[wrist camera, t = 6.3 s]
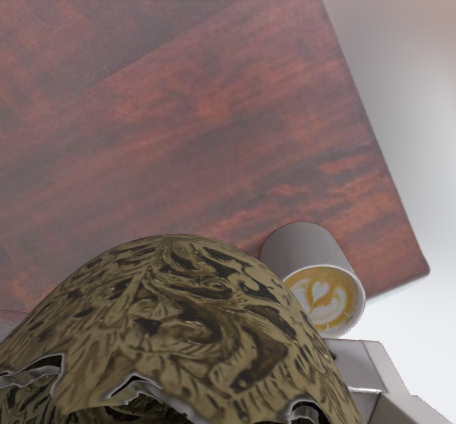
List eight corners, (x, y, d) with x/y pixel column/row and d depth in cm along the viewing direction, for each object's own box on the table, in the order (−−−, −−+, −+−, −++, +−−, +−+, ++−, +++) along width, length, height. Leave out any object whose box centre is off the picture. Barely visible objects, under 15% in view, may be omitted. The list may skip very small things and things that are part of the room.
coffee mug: (313, 206, 45) (337, 246, 36) (351, 265, 48) (382, 315, 39) (222, 262, 48) (222, 312, 39) (264, 314, 51) (273, 372, 42)
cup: (276, 133, 10) (416, 344, 3) (324, 335, 13) (453, 694, 6) (28, 204, 11) (-354, 518, 4) (124, 381, 14) (18, 755, 7)
